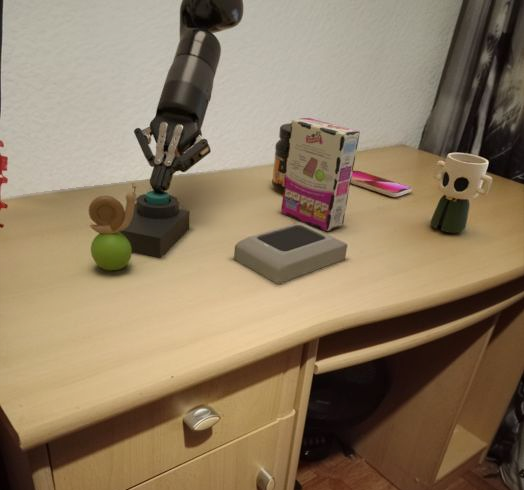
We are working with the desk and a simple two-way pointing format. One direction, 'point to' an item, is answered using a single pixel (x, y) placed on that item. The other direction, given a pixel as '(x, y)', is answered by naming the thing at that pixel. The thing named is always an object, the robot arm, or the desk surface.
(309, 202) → the candy bar box
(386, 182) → the smartphone
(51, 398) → the desk surface
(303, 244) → the grey bevelled block
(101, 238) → the snail figurine
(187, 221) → the black button base
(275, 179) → the supplement container
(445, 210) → the character mug
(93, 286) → the desk surface
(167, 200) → the push button
